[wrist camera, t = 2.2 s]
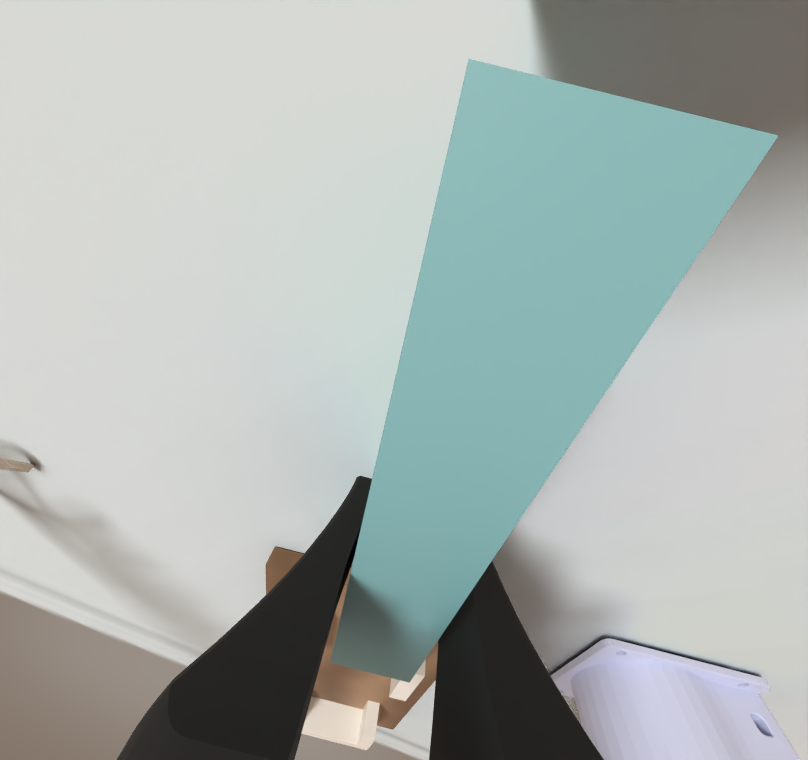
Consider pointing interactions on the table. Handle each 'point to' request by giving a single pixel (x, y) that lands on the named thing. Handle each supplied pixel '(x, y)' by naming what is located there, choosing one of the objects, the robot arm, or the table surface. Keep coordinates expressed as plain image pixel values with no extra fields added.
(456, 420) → the slat
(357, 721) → the end caps
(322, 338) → the table surface
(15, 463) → the dna model
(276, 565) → the walnut board
